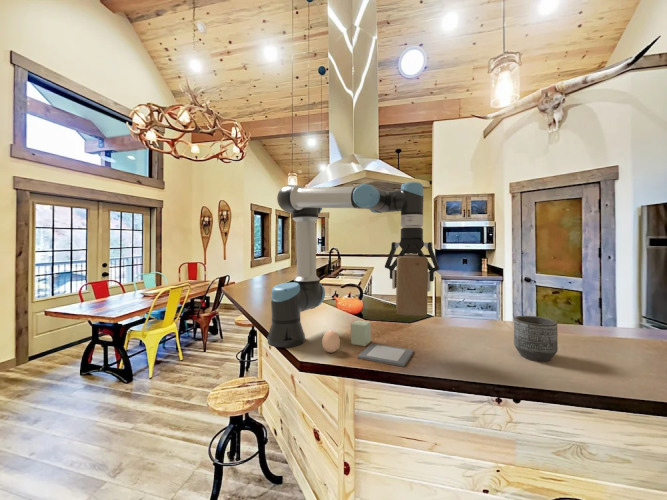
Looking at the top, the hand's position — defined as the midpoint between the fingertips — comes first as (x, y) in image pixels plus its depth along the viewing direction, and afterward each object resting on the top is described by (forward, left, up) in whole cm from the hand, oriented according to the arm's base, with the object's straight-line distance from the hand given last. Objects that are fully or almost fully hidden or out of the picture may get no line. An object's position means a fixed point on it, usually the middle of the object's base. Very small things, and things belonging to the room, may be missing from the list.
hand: (411, 289), depth 99 cm
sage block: (-21, +4, -23) cm, 31 cm away
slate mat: (-8, -4, -23) cm, 25 cm away
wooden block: (0, 0, -8) cm, 8 cm away
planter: (+38, +17, -23) cm, 48 cm away
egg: (-27, -10, -23) cm, 37 cm away
